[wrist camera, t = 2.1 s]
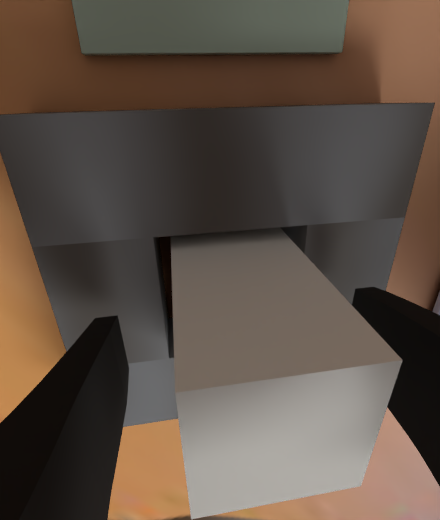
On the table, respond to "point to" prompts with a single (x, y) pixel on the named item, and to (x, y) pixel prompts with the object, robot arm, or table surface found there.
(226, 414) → the block
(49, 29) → the table surface
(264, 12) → the mat
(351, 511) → the table surface
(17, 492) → the robot arm
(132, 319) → the pocket board
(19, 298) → the table surface
